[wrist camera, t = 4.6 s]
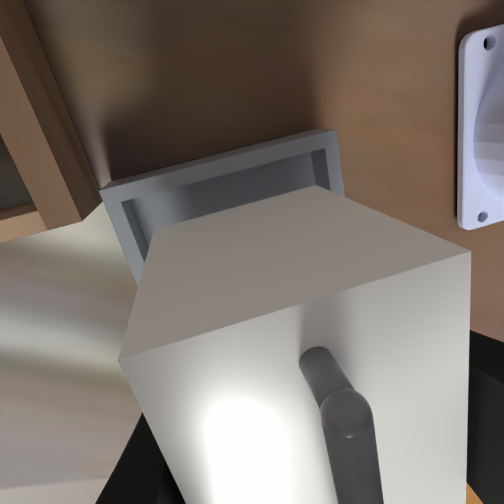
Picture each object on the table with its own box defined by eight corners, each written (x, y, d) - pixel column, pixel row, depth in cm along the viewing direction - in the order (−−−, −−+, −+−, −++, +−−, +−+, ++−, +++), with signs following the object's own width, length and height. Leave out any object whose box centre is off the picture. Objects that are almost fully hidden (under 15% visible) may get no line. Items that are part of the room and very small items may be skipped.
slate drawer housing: (315, 128, 13) (336, 129, 11) (345, 334, 17) (364, 360, 15) (110, 181, 13) (98, 190, 11) (190, 384, 16) (190, 417, 14)
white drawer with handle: (315, 184, 10) (568, 292, 4) (343, 363, 13) (520, 620, 6) (153, 229, 10) (92, 450, 3) (217, 406, 12) (257, 733, 6)
